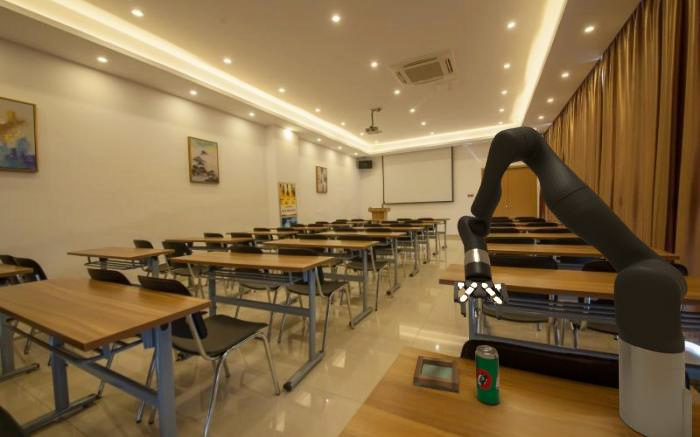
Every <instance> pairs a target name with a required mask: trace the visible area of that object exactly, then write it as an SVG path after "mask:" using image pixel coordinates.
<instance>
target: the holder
mask: <svg viewBox="0 0 700 437" xmlns="http://www.w3.org/2000/svg"><path fill="white" fill-rule="evenodd" d="M416 360H417V361H416V364H415V369H414V374H413V386H416V387H422V388H426V389H427V388H428V389H435V390H441V391H446V392H451V393H452V392H453V393H458V394H459V393H460V390H459V389H460V385H459V361H458V360H456V359H447V358H439V357H432V356H423V355H417V359H416Z"/></svg>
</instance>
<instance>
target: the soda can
mask: <svg viewBox="0 0 700 437" xmlns="http://www.w3.org/2000/svg"><path fill="white" fill-rule="evenodd" d="M474 353H475V354H474V361H475V362H474V363H475V364H474V365H475V389H476V390H475V392H476V397H477V399H478V400H480V402H481V403H484V404H486V405H492V406H493V405H497V404H498V403H499V402H500V400H501V395H500V392H501V391H500V361H499V357H500V356H499V354H498V351H497V349H496V348H495V347H492V346H489V345H485V344H484V345H483V344H482V345H481V344H480V345H478V346H476V350H475V351H474Z"/></svg>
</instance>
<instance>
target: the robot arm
mask: <svg viewBox="0 0 700 437" xmlns="http://www.w3.org/2000/svg"><path fill="white" fill-rule="evenodd" d="M518 162H522V163H523V164H524V165H526V166H527V167H528V168H529V169H530V171H532V173H533V174H534V175H535V177H537V179H538V182H539V183H538V184H539V186H540V191H541V196H542V199H543V202H544V204H545V207H547V208H548V210H549V211H550V213H551V214H552V215H553V216H554V217H555V218H556V219H557V220H558V221H559V222H560V224H562V225H563V226H564V227H565V228H566V229H567V230H568V231H570V232H571V233H573V235H575V236H577V237H578V238H579V239H581V240H583V241H584V242H585V243H587V244H588V245H590V246H592V247H593V249H595V250H597V251H598V252H599V253H600V254H601V255H602V256H603V257H604V258H605V259H606V261H608V263H610V265H611V266H612V267H613V269H614V270H615V271H616V272H617V273H618V274H617V275H616V277H615V279H614V283H613V304H614V306H613V308H614V310H613V311H614V321H615V324H616V327H617V330H618V391H619V392H618V393H619V404H618V408H619V410H618V411H619V412H618V413H619V418H620V420H621V421H622V422H623V423H624V424H626V426H628V427H629V428H631V429H632V430H633V431H635V432H636V433H639V434H641V435H643V436H645V437H693V429H692V428H693V426H692V424H693V407H692V406H693V396H692V395H693V394H692V393H693V392H692V391H690V389H688V388H687V387H686V338H685V335H684V334H683V332H682V331H683V330H682V301H683V299H685V297H686V296H687V294H688V288H689V287H688V283H687V279H686V278H685V276H683V274H682V272H680V270H678V269H677V268H676V267H675V266H674V265H672V264H671V263H670V262H668V261H667V260H666V259H665V258H664V257H663V256H662V255H660V254H659V253H657V252H656V251H655V250H654V249H653V248H651V247H650V246H649V245H648V244H646V243H645V242H644V241H642V240H641V239H640V238H639V237H638V236H637V235H636V234H635V232H633V231H632V230H631V229H630V228H629V227H628V225H627V224H626V223H625V222H624V221H623V220H622V219H621V217H619V216H618V215H617V213H616V212H615V211H614V210H613V209H612V208H611V207H610V206H609V205H608V204H607V203H606V202H605V201H604V199H602V198H601V196H599V194H597V192H595V191H594V190H593V189H592V188H591V187H590V186H589V185H588V184H587V183H585V181H583V180H582V179H581V178H580V177H579V176H578V175H577V174H576V173H575V171H574V170H572V169H571V168H570V167H569V166H568V165H567V164H566V163H565V161H563V160H562V159H561V158H560V157H559V155H557V153H556V152H555V151H554V149H553V148H552V147H551V146H550V144H549V143H548V142H547V140H546V139H545V138H544V137H543V136H542V134H541V133H540V132H539V131H538V130H536V129H535V128H533V127H531V126H527V125H525V126H524V125H522V126H517V127H511V128H506V129H504V130H500V131H499V132H497V133H496V134H495V135H494V137H493V138H492V140H491V143H490V145H489V150H488V152H487V157H486V162H485V165H484V169H483V172H482V173H483V174H482V177H481V178H482V179H481V182H480V186H479V187H478V190H477V193H476V195H475V197H474V199H473V202H472V204H471V206H470V213H471V215H463V216H461V217H459V219H458V221H457V224H456V228H457V233H458V236H459V237H460V240H461V242H462V244H463V252H464V254H463V256H464V258H463V268H464V271H463V272H464V282H459V281H458V280H455V281H454V282H453V302H454V303H455V304H457V303H458V304H459V306H460V314H461V316H463V318H467V305H466V303H468V301H470V300H471V299H472V298H473V299H477V300H478V299H482V300H486V299H488V301H489V302H491V303H493V304H494V306H495V314H496V320H497V321H501V319H502V318H503V316H504V312H503V307H508V305H509V301H510V299H509V295H508V290H507V286H506V284H505V283H504V282H501V283H500V284H495V283H494V282H493V274H492V269H491V259H490V257H489V250H488V249H489V248H488V243H487V241H486V239H485V238H486V237H488V236H489V234H490V233H491V228H492V227H491V226H492V225H491V224H492V219H493V215H494V213H495V211H496V210H497V208H498V206H499V204H500V201H501V199H502V194H503V191H502V190H503V189H502V181H503V176H504V175H505V174H506V171H507V170H508V169H509V167H510V166H511V165H512V164H514V163H515V164H516V163H518ZM463 288H464V290H465V291H464V293H463V295H462V296H460V297H459V291H462V289H463ZM495 290H497V292H498V293H500V295H501V296H500V297H501V299H500V298H499V297H498V295H497V294H496V293H495Z"/></svg>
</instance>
